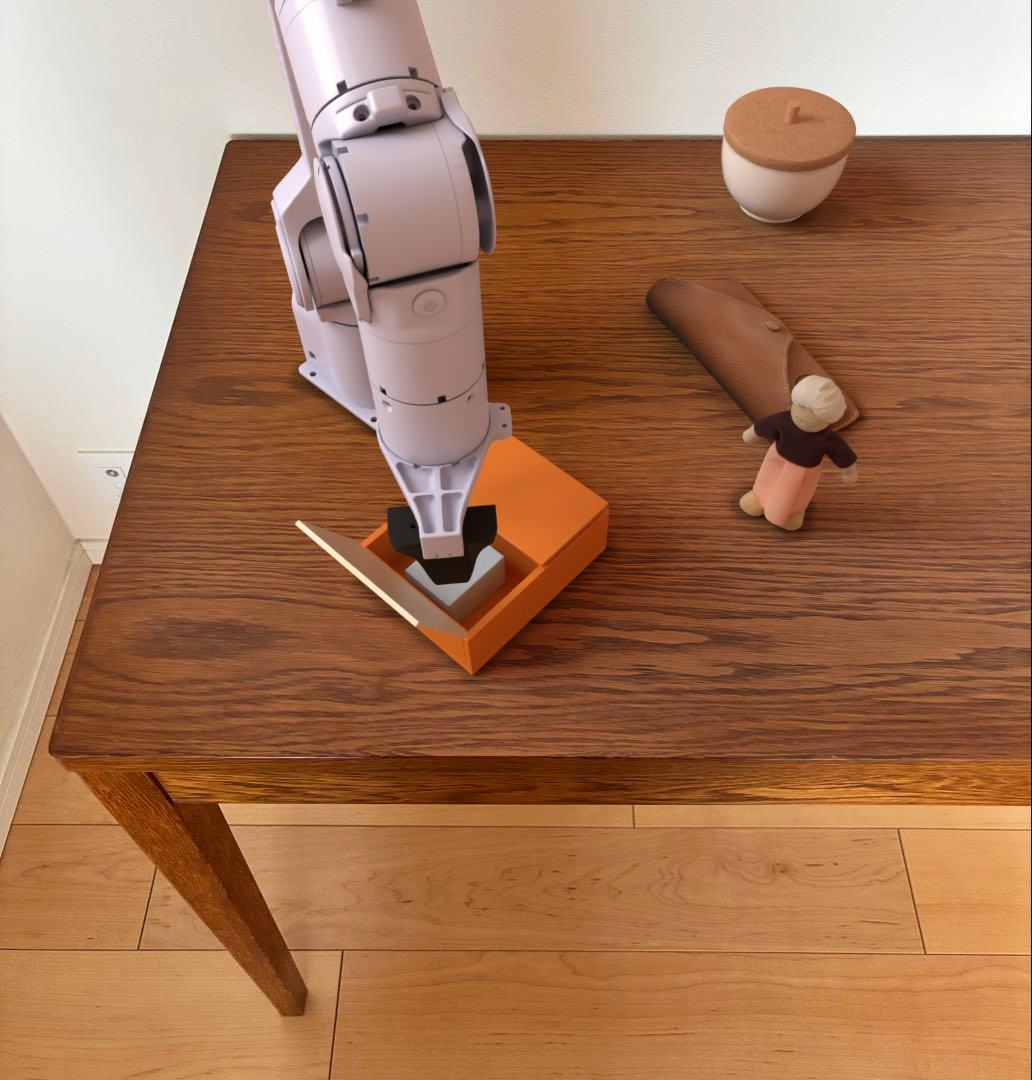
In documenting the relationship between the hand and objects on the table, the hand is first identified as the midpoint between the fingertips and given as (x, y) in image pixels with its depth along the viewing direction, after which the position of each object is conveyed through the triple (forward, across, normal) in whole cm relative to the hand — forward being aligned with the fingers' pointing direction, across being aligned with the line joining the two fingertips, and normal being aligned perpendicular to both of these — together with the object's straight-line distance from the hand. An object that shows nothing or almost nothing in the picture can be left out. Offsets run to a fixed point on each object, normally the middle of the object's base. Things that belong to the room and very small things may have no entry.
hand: (448, 524), depth 59 cm
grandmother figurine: (+8, +4, -23) cm, 24 cm away
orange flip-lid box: (+8, +2, -2) cm, 8 cm away
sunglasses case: (+8, +19, -24) cm, 31 cm away
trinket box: (+8, +38, -30) cm, 49 cm away
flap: (0, -3, +4) cm, 5 cm away
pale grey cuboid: (+7, 0, 0) cm, 7 cm away
